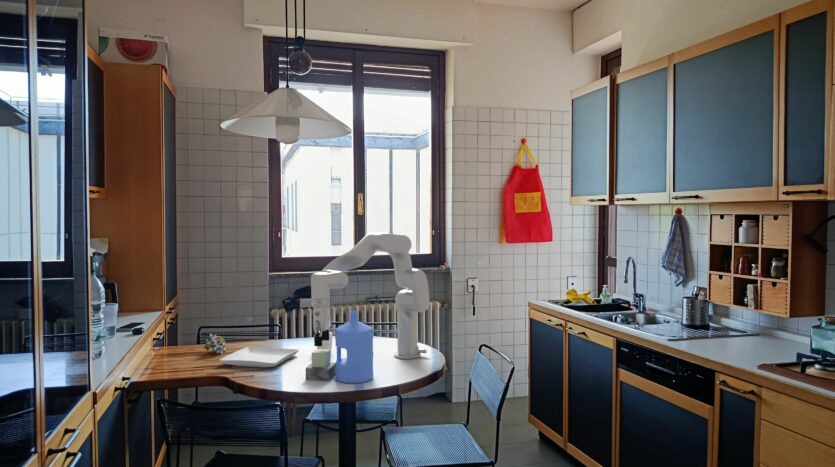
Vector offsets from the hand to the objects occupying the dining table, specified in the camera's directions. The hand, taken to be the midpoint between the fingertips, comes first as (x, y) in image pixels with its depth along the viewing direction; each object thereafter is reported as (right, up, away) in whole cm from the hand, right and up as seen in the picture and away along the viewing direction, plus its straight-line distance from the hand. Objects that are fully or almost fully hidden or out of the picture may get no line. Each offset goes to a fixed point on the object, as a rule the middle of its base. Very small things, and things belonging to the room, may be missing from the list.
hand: (322, 343), depth 245 cm
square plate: (-33, -14, +27) cm, 45 cm away
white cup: (-6, -13, +41) cm, 44 cm away
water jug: (+14, -15, -2) cm, 20 cm away
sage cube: (0, -9, 0) cm, 9 cm away
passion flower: (-59, -13, +41) cm, 73 cm away
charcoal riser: (0, -14, 0) cm, 14 cm away
